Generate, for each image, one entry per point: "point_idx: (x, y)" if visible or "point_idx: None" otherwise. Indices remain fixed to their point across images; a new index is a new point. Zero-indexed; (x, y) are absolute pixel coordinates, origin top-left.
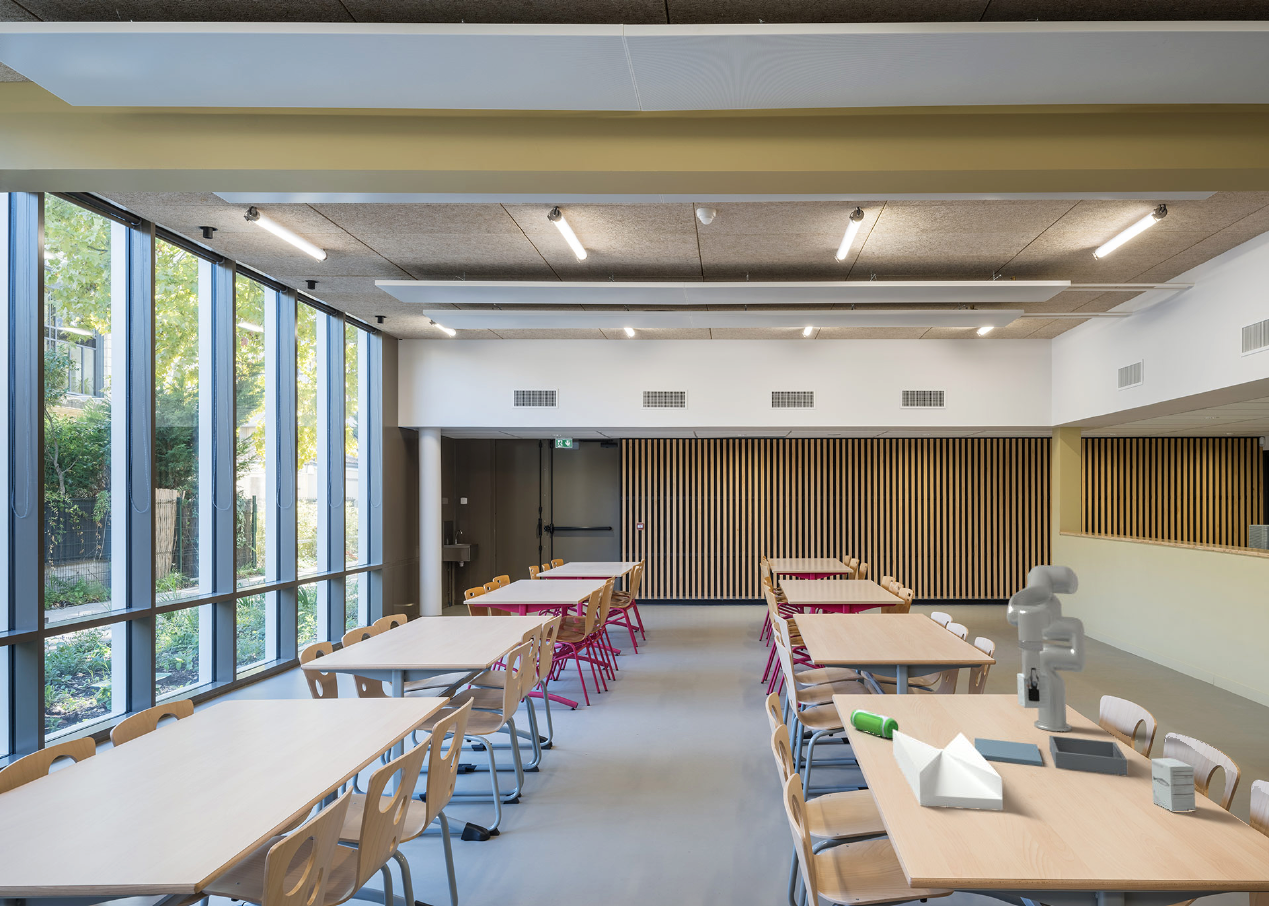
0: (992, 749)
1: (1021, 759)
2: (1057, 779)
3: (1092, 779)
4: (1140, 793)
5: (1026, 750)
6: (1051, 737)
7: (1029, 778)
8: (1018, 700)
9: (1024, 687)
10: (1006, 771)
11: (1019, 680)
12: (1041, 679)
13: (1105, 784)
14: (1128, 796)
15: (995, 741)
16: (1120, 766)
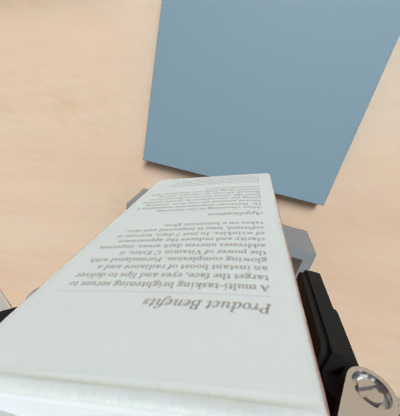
0: (248, 18)
1: (150, 102)
2: (53, 158)
3: (83, 235)
4: (34, 281)
5: (250, 149)
6: (292, 252)
7: (32, 84)
8: (261, 179)
9: (80, 255)
10: (67, 27)
11: (189, 291)
12: None
13: (60, 246)
14: (8, 255)
15: (364, 62)
16: None
